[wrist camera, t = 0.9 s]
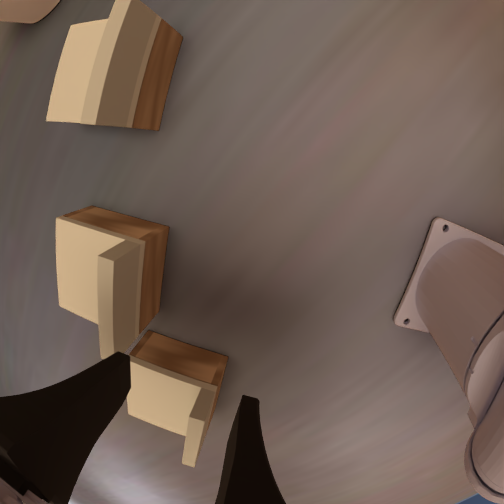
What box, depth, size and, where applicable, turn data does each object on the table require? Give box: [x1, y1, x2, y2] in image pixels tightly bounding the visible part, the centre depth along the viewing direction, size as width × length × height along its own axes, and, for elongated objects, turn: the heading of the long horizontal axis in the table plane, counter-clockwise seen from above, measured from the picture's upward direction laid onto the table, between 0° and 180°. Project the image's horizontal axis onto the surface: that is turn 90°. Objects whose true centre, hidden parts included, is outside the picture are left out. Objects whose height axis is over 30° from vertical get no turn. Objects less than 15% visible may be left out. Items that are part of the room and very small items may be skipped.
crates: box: [63, 19, 228, 433], centre depth 19 cm, size 15×29×3 cm, turn 166°
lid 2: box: [56, 216, 145, 359], centre depth 16 cm, size 7×7×3 cm
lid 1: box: [46, 0, 162, 128], centre depth 12 cm, size 7×7×3 cm
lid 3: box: [127, 355, 218, 467], centre depth 19 cm, size 7×7×3 cm
